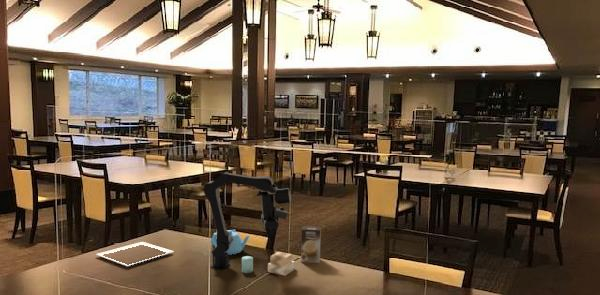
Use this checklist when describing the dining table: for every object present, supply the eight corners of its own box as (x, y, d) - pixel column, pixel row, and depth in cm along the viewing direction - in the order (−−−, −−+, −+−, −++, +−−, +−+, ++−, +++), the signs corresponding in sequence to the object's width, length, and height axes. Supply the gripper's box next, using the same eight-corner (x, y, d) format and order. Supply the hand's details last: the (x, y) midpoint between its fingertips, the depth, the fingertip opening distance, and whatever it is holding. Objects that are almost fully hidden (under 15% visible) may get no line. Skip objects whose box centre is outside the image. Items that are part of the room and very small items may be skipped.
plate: (142, 244, 237) (142, 241, 237) (174, 254, 222) (174, 250, 222) (95, 258, 216) (95, 253, 216) (127, 269, 201) (127, 265, 201)
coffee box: (300, 262, 213) (300, 229, 211) (301, 258, 219) (302, 225, 217) (319, 263, 212) (320, 230, 210) (320, 258, 218) (321, 226, 217)
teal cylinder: (239, 271, 200) (239, 258, 199) (245, 268, 204) (245, 255, 203) (248, 273, 197) (248, 260, 197) (255, 270, 202) (255, 257, 201)
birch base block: (267, 272, 200) (267, 263, 200) (277, 266, 208) (277, 258, 208) (285, 276, 196) (285, 267, 196) (294, 269, 204) (295, 261, 204)
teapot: (235, 244, 239) (235, 225, 238) (250, 252, 227) (250, 231, 226) (209, 250, 229) (209, 229, 228) (223, 258, 218) (223, 236, 217)
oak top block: (270, 263, 200) (270, 256, 200) (278, 259, 206) (278, 251, 206) (284, 266, 197) (284, 258, 196) (291, 261, 203) (291, 254, 203)
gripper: (288, 206, 194) (291, 242, 195) (283, 199, 212) (286, 231, 213) (263, 209, 192) (266, 245, 193) (259, 201, 210) (262, 234, 212)
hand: (271, 238), depth 203 cm, fingers open, 9 cm apart
